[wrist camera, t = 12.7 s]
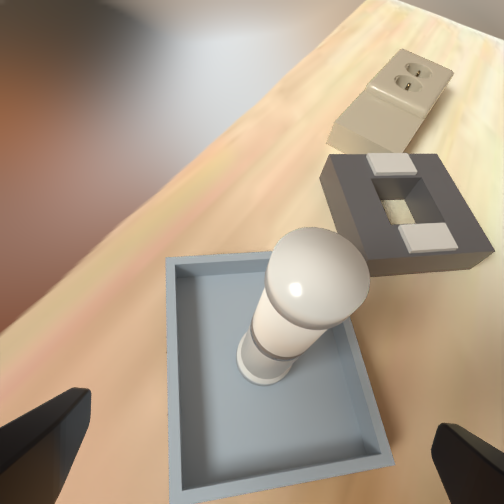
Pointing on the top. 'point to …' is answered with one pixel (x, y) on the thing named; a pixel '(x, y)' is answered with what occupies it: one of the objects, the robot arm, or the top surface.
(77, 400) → the robot arm
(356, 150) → the electrical outlet
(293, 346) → the light bulb
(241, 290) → the parts tray
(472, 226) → the socket block
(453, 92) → the top surface
